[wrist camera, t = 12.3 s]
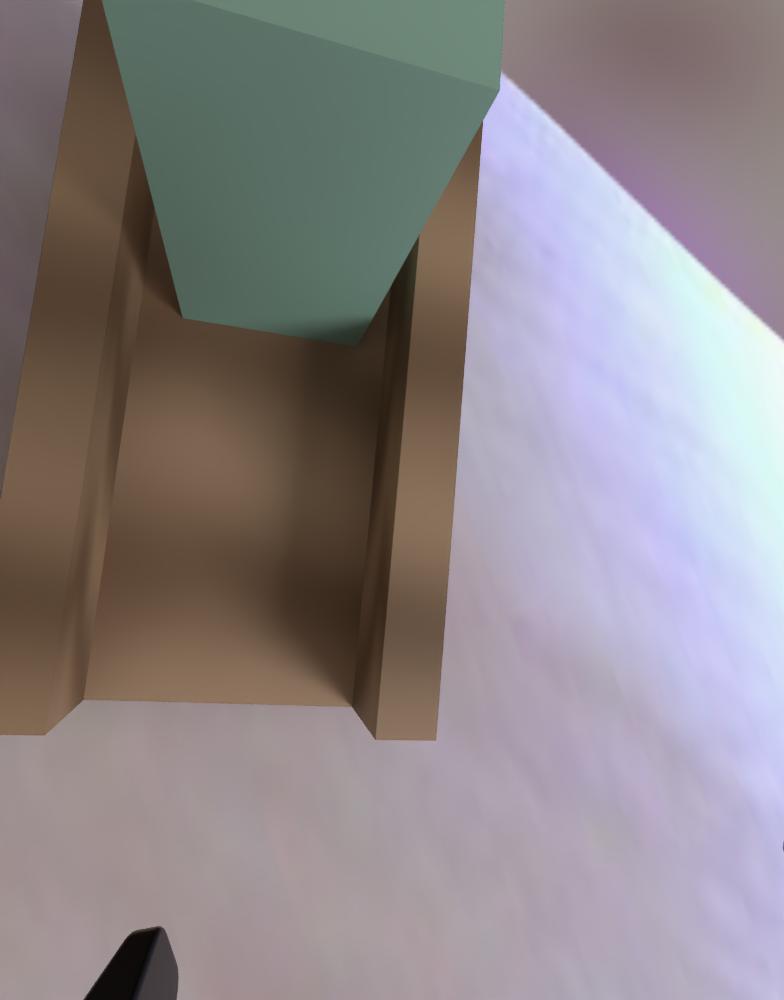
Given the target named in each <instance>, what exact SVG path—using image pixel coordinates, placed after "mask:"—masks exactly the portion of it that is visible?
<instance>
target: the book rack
mask: <svg viewBox="0 0 784 1000" xmlns="http://www.w3.org/2000/svg"><path fill="white" fill-rule="evenodd" d="M482 127H483V121H482V123H481V125H480V127H479V128H478V130H477V132H476V134H475V136H474V137H473V139H472V141H471V143H470V145H469V146H468V148H467V150H466V152H465V154H464V155H463V157H462V159H461V161H460V163H459V164H458V166H457V168H456V170H455V172H454V173H453V175H452V177H451V179H450V181H449V182H448V184H447V186H446V188H445V190H444V191H443V193H442V195H441V197H440V199H439V200H438V202H437V204H436V206H435V207H434V209H433V211H432V213H431V215H430V216H429V218H428V220H427V222H426V224H425V225H424V227H423V229H422V231H421V233H420V234H419V236H418V238H417V240H416V242H415V243H414V245H413V247H412V249H411V251H410V252H409V254H408V256H407V258H406V260H405V261H404V263H403V265H402V267H401V269H400V270H399V272H398V274H397V276H396V278H395V279H394V281H393V283H392V285H391V287H390V288H389V290H388V292H387V294H386V296H385V297H384V299H383V301H382V303H381V305H380V306H379V308H378V310H377V312H376V314H375V315H374V317H373V319H372V321H371V323H370V324H369V326H368V328H367V330H366V332H365V333H364V335H363V337H362V339H361V341H360V342H359V344H358V346H357V347H355V346H349V345H343V344H337V343H331V342H325V341H319V340H312V339H306V338H300V337H294V336H288V335H282V334H276V333H270V332H264V331H258V330H252V329H246V328H240V327H234V326H228V325H222V324H216V323H210V322H203V321H197V320H191V319H185V318H183V317H182V313H181V310H180V306H179V302H178V298H177V294H176V290H175V286H174V282H173V278H172V274H171V270H170V266H169V262H168V258H167V254H166V251H165V247H164V243H163V239H162V235H161V231H160V227H159V223H158V219H157V215H156V211H155V207H154V203H153V199H152V195H151V192H150V188H149V184H148V180H147V176H146V172H145V168H144V164H143V160H142V156H141V152H140V148H139V144H138V140H137V137H136V133H135V129H134V125H133V121H132V117H131V113H130V109H129V105H128V101H127V97H126V93H125V89H124V85H123V81H122V78H121V74H120V70H119V66H118V62H117V58H116V54H115V50H114V46H113V42H112V38H111V34H110V30H109V26H108V22H107V19H106V15H105V11H104V7H103V3H102V0H83V6H82V12H81V18H80V24H79V30H78V36H77V42H76V48H75V54H74V60H73V66H72V72H71V78H70V84H69V90H68V96H67V102H66V108H65V114H64V120H63V126H62V132H61V138H60V144H59V150H58V156H57V162H56V168H55V174H54V180H53V186H52V192H51V198H50V204H49V210H48V216H47V222H46V228H45V234H44V240H43V246H42V252H41V258H40V264H39V270H38V276H37V282H36V288H35V294H34V300H33V306H32V312H31V318H30V324H29V330H28V336H27V342H26V348H25V354H24V360H23V366H22V372H21V378H20V384H19V390H18V396H17V402H16V408H15V414H14V420H13V426H12V432H11V438H10V444H9V450H8V456H7V462H6V468H5V474H4V480H3V486H2V492H1V498H0V735H46V734H47V733H48V732H49V731H50V730H51V729H52V728H53V727H54V726H55V725H57V724H58V723H59V722H60V721H61V720H62V719H63V718H64V717H65V716H66V715H67V714H68V713H70V712H71V711H72V710H73V709H74V708H75V707H76V706H77V705H78V704H79V703H80V702H81V701H83V700H118V701H155V702H193V703H230V704H267V705H304V706H341V707H353V709H354V710H355V712H356V713H357V714H358V716H359V717H360V719H361V720H362V721H363V723H364V724H365V726H366V727H367V729H368V730H369V731H370V733H371V734H372V736H373V737H374V738H375V740H434V741H436V733H437V720H438V707H439V694H440V681H441V667H442V654H443V641H444V628H445V615H446V602H447V588H448V575H449V562H450V549H451V536H452V523H453V509H454V496H455V483H456V470H457V457H458V443H459V430H460V417H461V404H462V391H463V378H464V364H465V351H466V338H467V325H468V312H469V298H470V285H471V272H472V259H473V246H474V233H475V219H476V206H477V193H478V180H479V167H480V153H481V140H482Z"/></svg>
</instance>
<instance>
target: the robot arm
mask: <svg viewBox="0 0 784 1000" xmlns="http://www.w3.org/2000/svg"><path fill="white" fill-rule="evenodd" d="M783 850H784V843H783ZM177 991H178V967H177V963H176V960H175V957H174V954H173V951H172V948H171V945H170V942H169V939H168V936H167V934H166V931H165V929H164V928H162V927H161V926H157V927H151V928H146V929H141V930H136V931H134V932H132V933H131V934H130V935H129V936H128V937H127V938H126V939H125V940H124V942H123V943H122V945H121V946H120V948H119V949H118V951H117V952H116V953H115V955H114V956H113V958H112V959H111V961H110V962H109V964H108V965H107V966H106V968H105V969H104V971H103V972H102V974H101V975H100V977H99V978H98V979H97V981H96V982H95V984H94V985H93V987H92V988H91V990H90V991H89V993H88V994H87V995H86V997H85V998H84V1000H177Z"/></svg>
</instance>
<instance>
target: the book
mask: <svg viewBox="0 0 784 1000" xmlns="http://www.w3.org/2000/svg"><path fill="white" fill-rule="evenodd" d="M102 3H103V7H104V11H105V15H106V19H107V22H108V26H109V30H110V34H111V38H112V42H113V46H114V50H115V54H116V58H117V62H118V66H119V70H120V74H121V78H122V81H123V85H124V89H125V93H126V97H127V101H128V105H129V109H130V113H131V117H132V121H133V125H134V129H135V133H136V137H137V140H138V144H139V148H140V152H141V156H142V160H143V164H144V168H145V172H146V176H147V180H148V184H149V188H150V192H151V195H152V199H153V203H154V207H155V211H156V215H157V219H158V223H159V227H160V231H161V235H162V239H163V243H164V247H165V251H166V254H167V258H168V262H169V266H170V270H171V274H172V278H173V282H174V286H175V290H176V294H177V298H178V302H179V306H180V310H181V313H182V317H183V318H185V319H191V320H197V321H203V322H210V323H216V324H222V325H228V326H234V327H240V328H246V329H252V330H258V331H264V332H270V333H276V334H282V335H288V336H294V337H300V338H306V339H312V340H319V341H325V342H331V343H337V344H343V345H349V346H355V347H357V346H358V344H359V342H360V341H361V339H362V337H363V335H364V333H365V332H366V330H367V328H368V326H369V324H370V323H371V321H372V319H373V317H374V315H375V314H376V312H377V310H378V308H379V306H380V305H381V303H382V301H383V299H384V297H385V296H386V294H387V292H388V290H389V288H390V287H391V285H392V283H393V281H394V279H395V278H396V276H397V274H398V272H399V270H400V269H401V267H402V265H403V263H404V261H405V260H406V258H407V256H408V254H409V252H410V251H411V249H412V247H413V245H414V243H415V242H416V240H417V238H418V236H419V234H420V233H421V231H422V229H423V227H424V225H425V224H426V222H427V220H428V218H429V216H430V215H431V213H432V211H433V209H434V207H435V206H436V204H437V202H438V200H439V199H440V197H441V195H442V193H443V191H444V190H445V188H446V186H447V184H448V182H449V181H450V179H451V177H452V175H453V173H454V172H455V170H456V168H457V166H458V164H459V163H460V161H461V159H462V157H463V155H464V154H465V152H466V150H467V148H468V146H469V145H470V143H471V141H472V139H473V137H474V136H475V134H476V132H477V130H478V128H479V127H480V125H481V123H482V121H483V119H484V118H485V116H486V114H487V112H488V110H489V109H490V107H491V105H492V103H493V101H494V100H495V98H496V96H497V94H498V92H499V91H500V75H501V56H502V40H503V22H504V4H505V0H102Z"/></svg>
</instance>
